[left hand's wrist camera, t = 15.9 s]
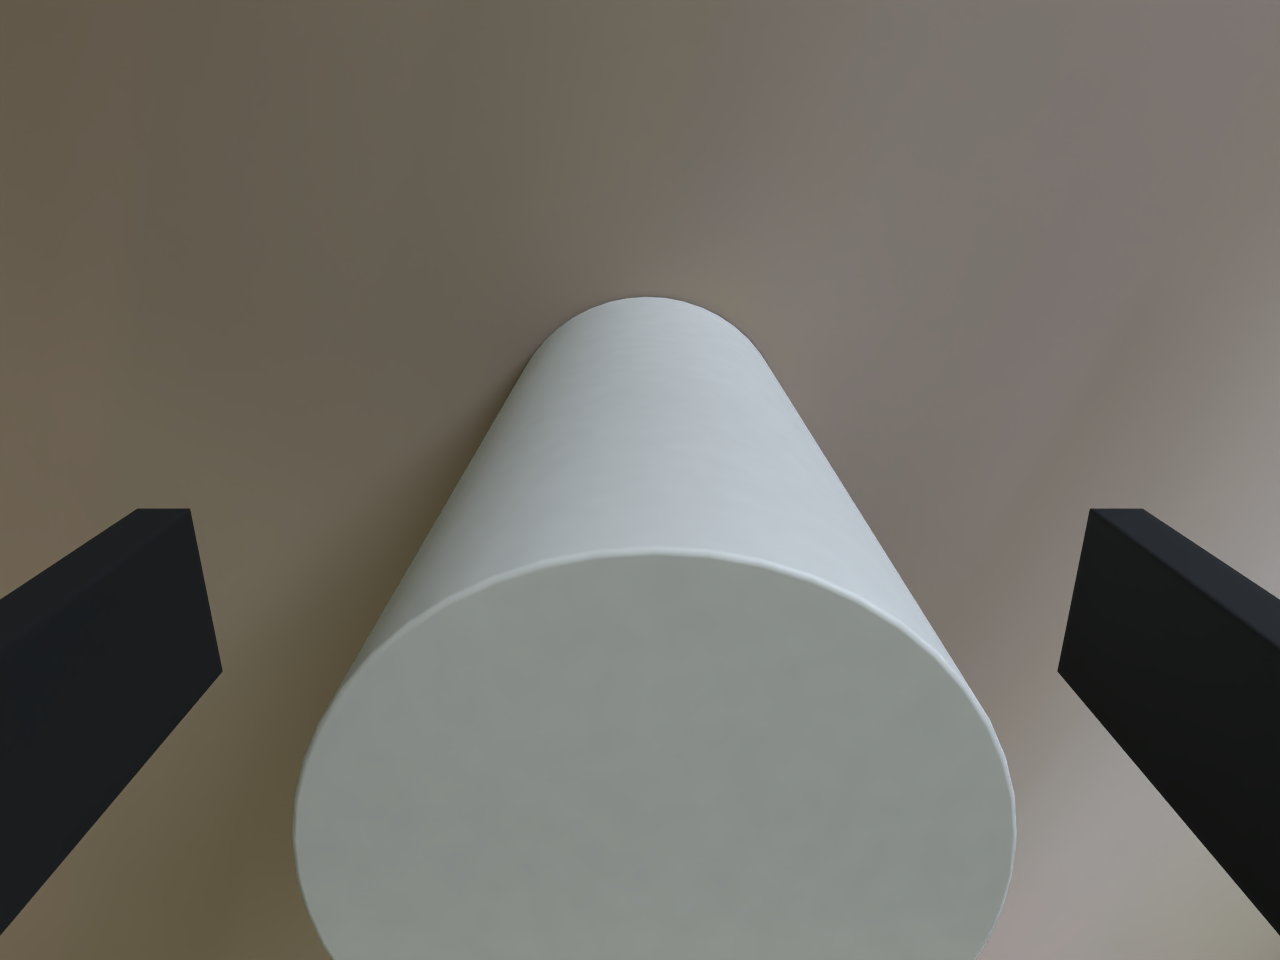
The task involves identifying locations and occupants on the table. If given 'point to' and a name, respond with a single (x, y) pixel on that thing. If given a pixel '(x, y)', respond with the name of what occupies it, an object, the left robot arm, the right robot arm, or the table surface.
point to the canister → (652, 694)
